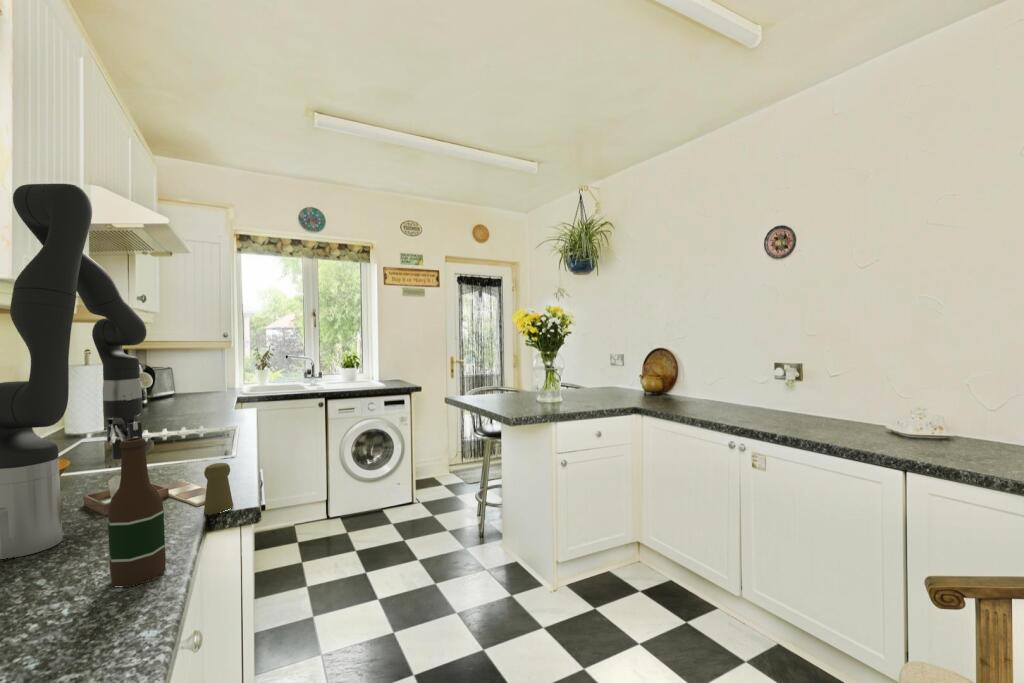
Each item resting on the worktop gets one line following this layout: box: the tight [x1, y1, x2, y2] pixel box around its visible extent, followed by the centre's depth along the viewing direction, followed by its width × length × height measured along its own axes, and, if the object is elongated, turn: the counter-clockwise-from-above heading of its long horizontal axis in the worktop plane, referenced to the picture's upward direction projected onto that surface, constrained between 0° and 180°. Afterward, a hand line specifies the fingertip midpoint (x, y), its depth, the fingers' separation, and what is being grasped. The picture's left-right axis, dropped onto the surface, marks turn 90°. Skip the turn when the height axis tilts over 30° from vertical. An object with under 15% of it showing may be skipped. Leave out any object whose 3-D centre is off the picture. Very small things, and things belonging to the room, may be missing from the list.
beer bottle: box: [107, 437, 167, 588], centre depth 80 cm, size 8×8×24 cm
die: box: [107, 474, 121, 499], centre depth 117 cm, size 5×5×5 cm
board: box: [162, 480, 207, 507], centre depth 122 cm, size 7×24×1 cm, turn 59°
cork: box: [203, 462, 234, 516], centre depth 110 cm, size 6×6×11 cm
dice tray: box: [82, 481, 170, 516], centre depth 117 cm, size 13×13×2 cm
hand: (125, 461), depth 116 cm, fingers open, 8 cm apart
